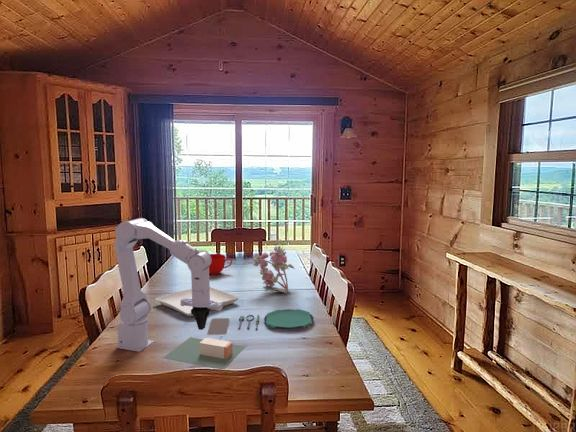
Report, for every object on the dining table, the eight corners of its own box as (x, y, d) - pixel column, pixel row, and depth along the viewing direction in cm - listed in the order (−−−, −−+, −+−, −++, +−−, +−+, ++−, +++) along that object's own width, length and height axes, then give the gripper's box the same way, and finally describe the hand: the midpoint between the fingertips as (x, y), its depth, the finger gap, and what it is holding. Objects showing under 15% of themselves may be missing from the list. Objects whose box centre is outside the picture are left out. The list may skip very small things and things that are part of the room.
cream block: (199, 342, 129) (226, 347, 126) (205, 337, 133) (232, 342, 130) (199, 354, 130) (226, 359, 126) (206, 348, 133) (232, 353, 130)
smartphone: (206, 334, 144) (211, 318, 159) (206, 337, 144) (211, 320, 159) (226, 334, 145) (229, 318, 159) (226, 336, 145) (230, 320, 160)
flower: (306, 281, 206) (285, 238, 206) (303, 290, 183) (280, 242, 184) (271, 296, 208) (251, 253, 208) (264, 308, 185) (242, 259, 186)
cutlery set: (316, 332, 148) (316, 326, 148) (236, 334, 147) (235, 328, 147) (311, 313, 168) (311, 307, 167) (240, 314, 167) (240, 309, 167)
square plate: (240, 304, 177) (240, 296, 177) (188, 322, 157) (188, 313, 157) (205, 291, 196) (205, 283, 195) (154, 305, 176) (153, 297, 175)
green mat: (162, 358, 127) (162, 357, 127) (190, 338, 142) (190, 337, 142) (223, 370, 120) (223, 369, 120) (245, 347, 135) (245, 346, 135)
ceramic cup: (230, 276, 219) (230, 259, 218) (200, 276, 219) (199, 259, 218) (233, 270, 232) (233, 254, 231) (205, 270, 232) (204, 253, 231)
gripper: (226, 287, 130) (227, 326, 132) (188, 283, 135) (189, 321, 136) (215, 294, 123) (216, 335, 125) (176, 289, 128) (177, 329, 130)
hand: (201, 328), depth 130 cm, fingers closed
